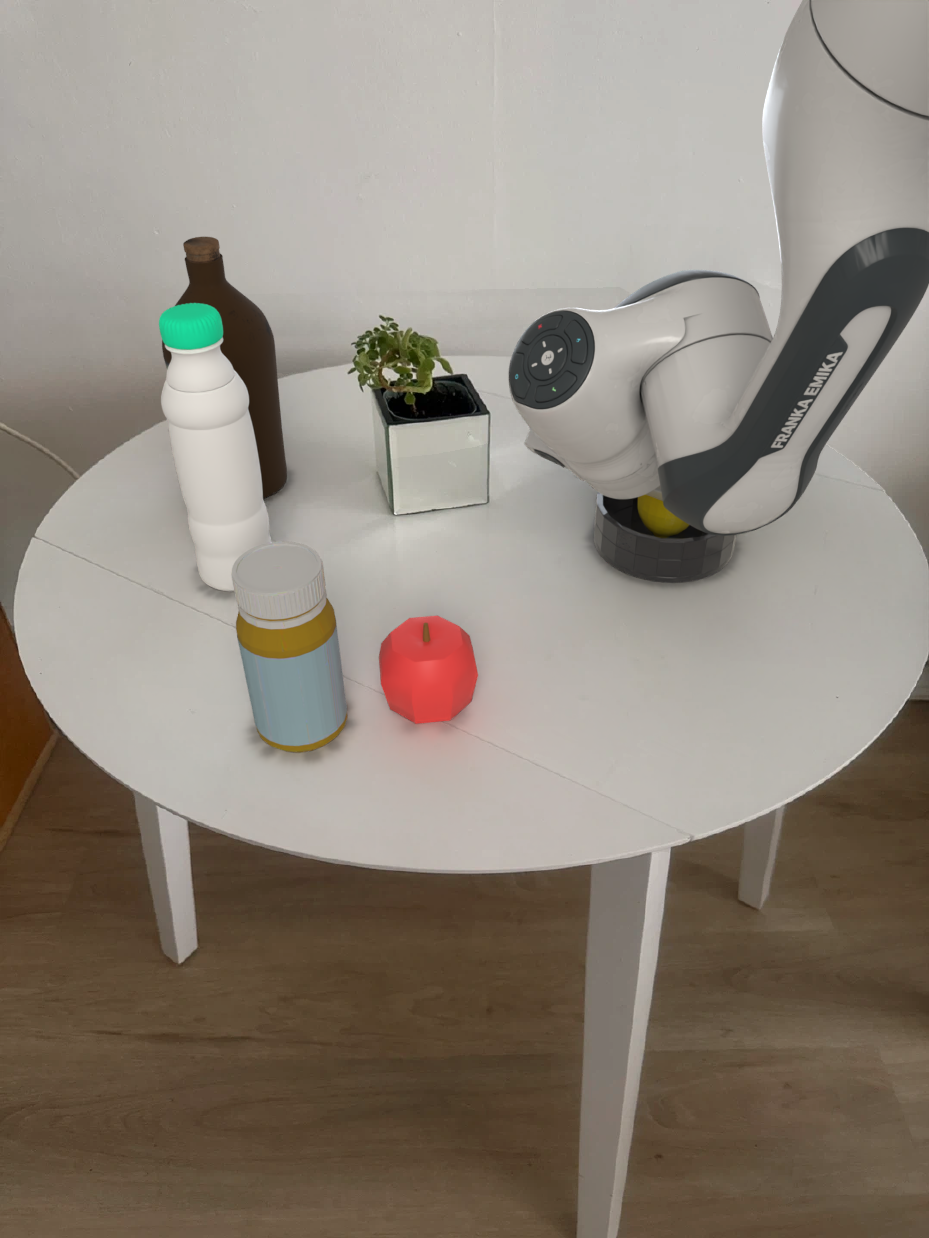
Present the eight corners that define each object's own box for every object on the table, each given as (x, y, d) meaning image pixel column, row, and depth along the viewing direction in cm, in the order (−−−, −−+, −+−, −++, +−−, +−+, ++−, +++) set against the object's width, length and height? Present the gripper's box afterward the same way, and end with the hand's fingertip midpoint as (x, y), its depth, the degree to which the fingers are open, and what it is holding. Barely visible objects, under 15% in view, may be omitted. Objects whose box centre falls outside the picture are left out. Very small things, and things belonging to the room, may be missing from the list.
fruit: (701, 549, 93) (713, 475, 88) (645, 557, 93) (654, 482, 88) (679, 518, 98) (690, 445, 93) (625, 525, 97) (633, 452, 92)
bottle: (364, 708, 78) (347, 551, 69) (317, 768, 73) (292, 608, 64) (289, 684, 80) (262, 528, 71) (239, 740, 76) (203, 582, 66)
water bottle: (240, 604, 89) (187, 336, 73) (183, 579, 92) (121, 317, 76) (292, 565, 93) (253, 305, 78) (237, 542, 97) (188, 288, 81)
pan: (745, 521, 98) (753, 482, 95) (715, 596, 89) (723, 555, 86) (616, 494, 102) (620, 456, 100) (575, 563, 93) (577, 523, 90)
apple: (464, 747, 75) (463, 667, 70) (364, 728, 76) (356, 648, 71) (491, 678, 81) (491, 600, 76) (398, 662, 82) (392, 584, 77)
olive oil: (269, 447, 111) (234, 216, 96) (309, 489, 104) (278, 247, 89) (177, 474, 107) (125, 236, 91) (212, 519, 100) (162, 270, 84)
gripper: (758, 445, 76) (790, 501, 88) (540, 374, 86) (596, 432, 98) (721, 519, 76) (758, 565, 88) (508, 439, 86) (567, 490, 98)
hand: (671, 494), depth 93 cm, fingers closed on fruit, 5 cm apart
